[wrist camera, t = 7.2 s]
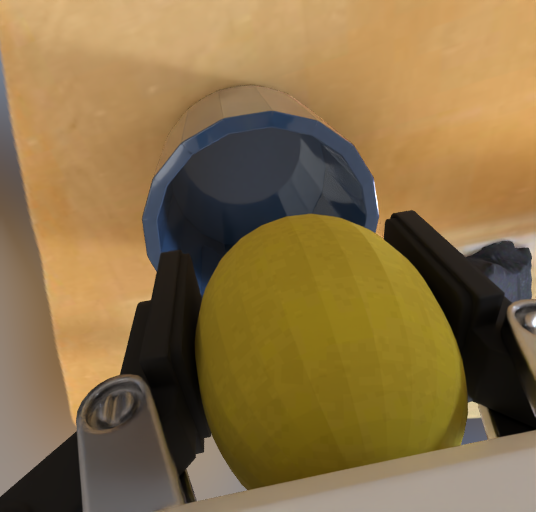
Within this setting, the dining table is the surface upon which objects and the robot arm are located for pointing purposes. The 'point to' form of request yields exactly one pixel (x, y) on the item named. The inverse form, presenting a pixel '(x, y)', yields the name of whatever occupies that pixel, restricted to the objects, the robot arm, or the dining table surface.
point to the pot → (249, 175)
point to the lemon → (324, 354)
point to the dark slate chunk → (506, 269)
